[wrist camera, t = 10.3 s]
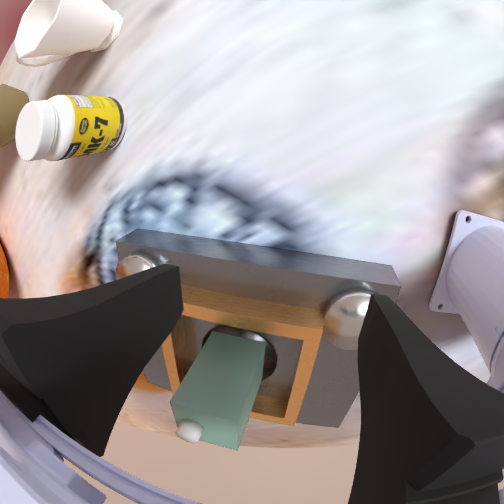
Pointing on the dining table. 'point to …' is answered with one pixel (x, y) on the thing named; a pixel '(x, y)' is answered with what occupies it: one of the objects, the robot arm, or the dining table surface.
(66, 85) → the dining table surface
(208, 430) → the spout tin
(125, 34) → the dining table surface
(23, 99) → the squeeze bottle
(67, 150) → the supplement bottle
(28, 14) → the cup
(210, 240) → the grey framed base plate
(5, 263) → the decorative sphere
